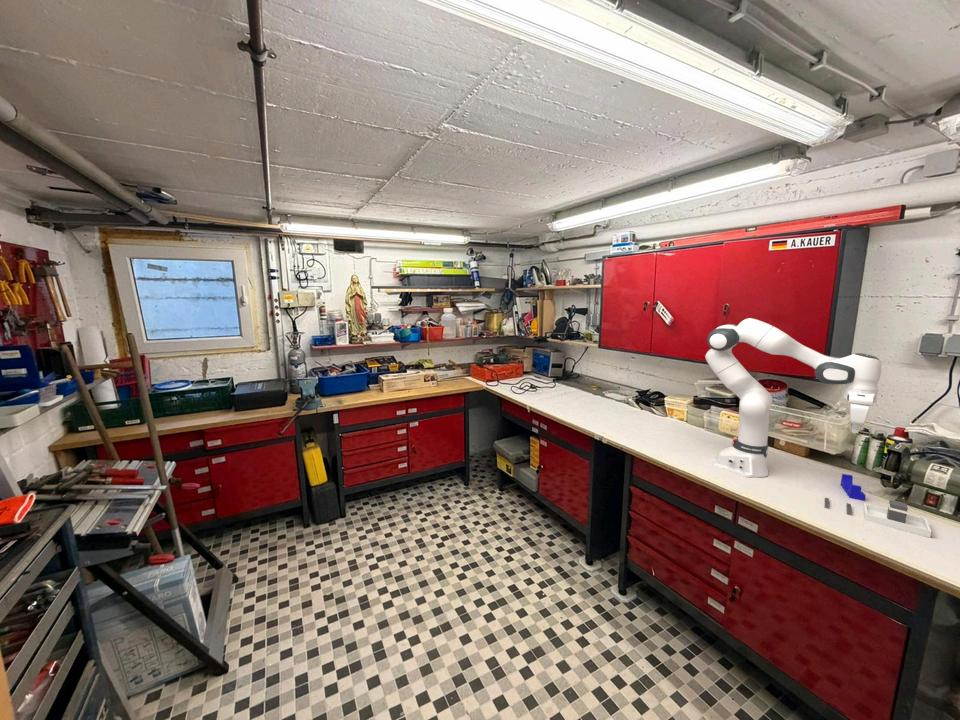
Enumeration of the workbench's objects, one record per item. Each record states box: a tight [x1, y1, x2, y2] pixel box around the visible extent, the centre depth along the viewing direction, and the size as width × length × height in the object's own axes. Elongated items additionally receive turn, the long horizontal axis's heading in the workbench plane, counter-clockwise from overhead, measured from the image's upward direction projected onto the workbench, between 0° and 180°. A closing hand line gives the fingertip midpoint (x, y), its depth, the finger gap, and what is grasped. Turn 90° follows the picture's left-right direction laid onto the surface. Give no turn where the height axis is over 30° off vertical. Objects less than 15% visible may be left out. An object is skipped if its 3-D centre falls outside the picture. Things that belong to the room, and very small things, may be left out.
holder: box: [824, 497, 853, 516], centre depth 142 cm, size 7×8×2 cm
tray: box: [862, 502, 932, 539], centre depth 133 cm, size 16×10×2 cm, turn 46°
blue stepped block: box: [840, 473, 866, 502], centre depth 153 cm, size 12×4×6 cm, turn 148°
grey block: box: [887, 499, 909, 524], centre depth 132 cm, size 4×4×7 cm
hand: (854, 429), depth 143 cm, fingers open, 8 cm apart
